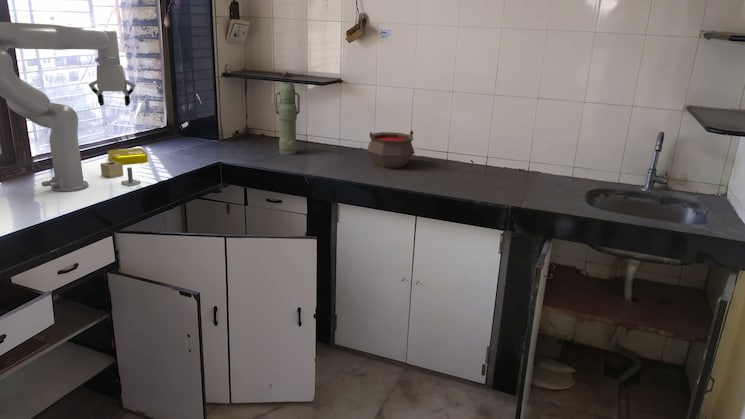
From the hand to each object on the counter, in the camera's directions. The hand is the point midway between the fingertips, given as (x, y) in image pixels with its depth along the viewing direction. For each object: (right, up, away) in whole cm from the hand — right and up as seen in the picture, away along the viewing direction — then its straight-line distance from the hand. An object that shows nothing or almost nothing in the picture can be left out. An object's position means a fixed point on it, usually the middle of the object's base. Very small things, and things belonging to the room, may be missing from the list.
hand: (114, 105), depth 225 cm
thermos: (+61, -14, +58) cm, 86 cm away
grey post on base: (+8, -32, -2) cm, 33 cm away
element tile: (-9, -20, +33) cm, 39 cm away
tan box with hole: (-5, -28, +8) cm, 29 cm away
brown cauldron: (+112, -20, +44) cm, 122 cm away
